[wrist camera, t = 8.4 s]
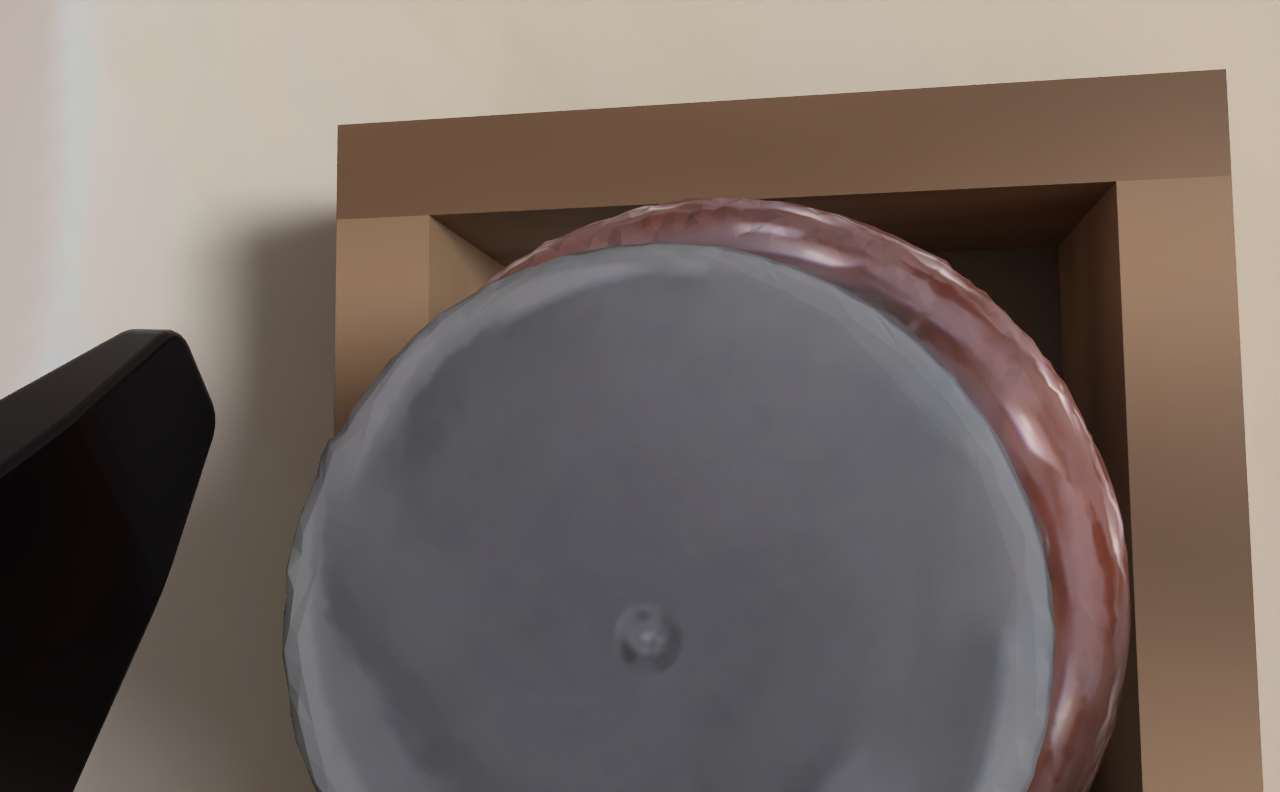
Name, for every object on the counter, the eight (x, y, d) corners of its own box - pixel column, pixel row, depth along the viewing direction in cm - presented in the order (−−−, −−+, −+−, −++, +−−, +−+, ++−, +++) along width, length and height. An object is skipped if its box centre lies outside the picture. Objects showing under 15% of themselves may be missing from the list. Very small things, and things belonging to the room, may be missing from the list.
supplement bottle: (1068, 453, 16) (1553, 362, 5) (876, 839, 16) (955, 1573, 5) (685, 273, 17) (413, -118, 6) (506, 634, 17) (-82, 876, 6)
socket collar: (1179, 927, 16) (1276, 1049, 12) (428, 891, 17) (326, 989, 14) (1144, 158, 16) (1225, 69, 13) (432, 194, 18) (337, 124, 15)
